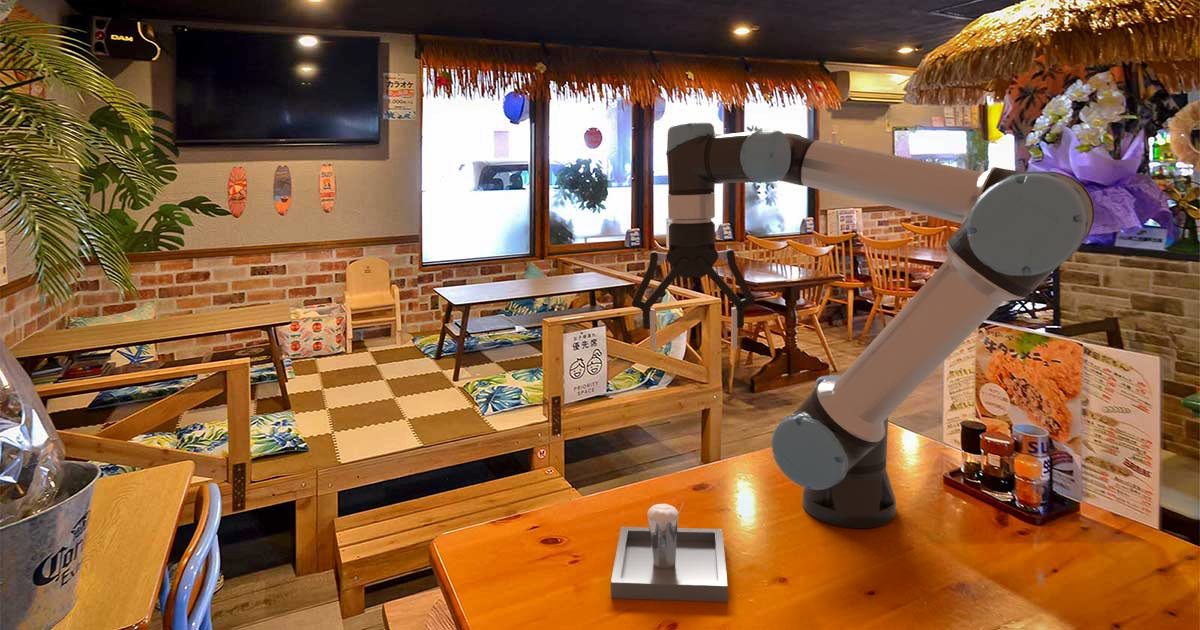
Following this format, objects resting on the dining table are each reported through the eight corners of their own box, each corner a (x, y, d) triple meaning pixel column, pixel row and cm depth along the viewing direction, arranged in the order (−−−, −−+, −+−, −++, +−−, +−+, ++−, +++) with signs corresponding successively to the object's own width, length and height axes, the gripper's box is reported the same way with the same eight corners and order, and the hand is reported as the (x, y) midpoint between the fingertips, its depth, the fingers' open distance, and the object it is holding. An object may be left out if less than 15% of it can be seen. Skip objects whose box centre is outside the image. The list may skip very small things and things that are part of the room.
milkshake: (683, 573, 103) (682, 509, 102) (646, 570, 104) (645, 507, 103) (686, 557, 108) (685, 495, 106) (651, 554, 109) (649, 493, 107)
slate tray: (722, 542, 113) (722, 529, 113) (727, 602, 98) (727, 586, 97) (621, 540, 115) (621, 526, 115) (611, 598, 100) (610, 582, 99)
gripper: (767, 217, 119) (766, 341, 123) (617, 221, 122) (622, 342, 126) (772, 219, 112) (771, 351, 116) (613, 225, 115) (618, 353, 119)
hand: (693, 347), depth 121 cm, fingers open, 13 cm apart
